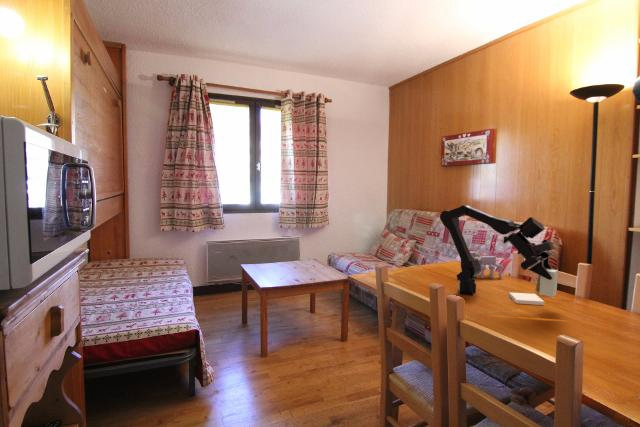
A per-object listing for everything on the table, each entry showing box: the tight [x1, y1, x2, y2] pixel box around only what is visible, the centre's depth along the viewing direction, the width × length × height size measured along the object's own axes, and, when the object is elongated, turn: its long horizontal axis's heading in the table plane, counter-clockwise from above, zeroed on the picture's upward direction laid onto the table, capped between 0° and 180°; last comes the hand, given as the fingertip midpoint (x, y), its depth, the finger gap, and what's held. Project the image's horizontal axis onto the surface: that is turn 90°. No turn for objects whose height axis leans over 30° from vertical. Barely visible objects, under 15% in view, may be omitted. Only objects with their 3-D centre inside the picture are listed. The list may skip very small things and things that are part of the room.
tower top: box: [508, 291, 545, 306], centre depth 146 cm, size 10×10×2 cm
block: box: [539, 268, 559, 298], centre depth 134 cm, size 4×4×10 cm
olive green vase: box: [535, 274, 541, 293], centre depth 158 cm, size 6×6×11 cm
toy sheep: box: [469, 251, 504, 279], centre depth 186 cm, size 20×11×14 cm, turn 94°
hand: (552, 278), depth 133 cm, fingers closed on block, 4 cm apart
